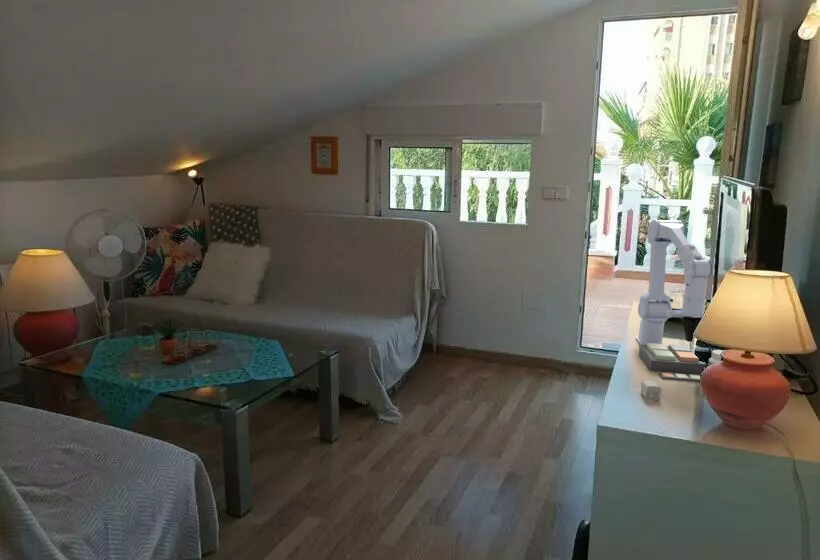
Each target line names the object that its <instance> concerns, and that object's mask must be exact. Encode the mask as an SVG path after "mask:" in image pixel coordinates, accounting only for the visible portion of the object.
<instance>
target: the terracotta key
mask: <svg viewBox="0 0 820 560" xmlns="http://www.w3.org/2000/svg"><path fill="white" fill-rule="evenodd" d="M675 357H676V358H677V359H678V360H679V361H689V362H698V361H699V358H698V357H697V356H696V355H695V354H694V353H693V352H679V351H675Z"/></svg>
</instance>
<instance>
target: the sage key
mask: <svg viewBox="0 0 820 560" xmlns="http://www.w3.org/2000/svg"><path fill="white" fill-rule="evenodd" d="M652 355H653V356H654V358H655V359H660V360H674V361H675V356H674V355H673V354H672V352H671V351H664V350H652Z"/></svg>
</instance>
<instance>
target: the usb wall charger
mask: <svg viewBox="0 0 820 560" xmlns="http://www.w3.org/2000/svg"><path fill="white" fill-rule="evenodd" d="M640 393H641V395H643V397H644V398H645V400H647V399H650V400H649V401H651V400H652V401H659V400H660V399H661V395H662V387H661V385H659V384H658V382H657V381H656V380H649V379H644V380H642V381H641V385H640Z"/></svg>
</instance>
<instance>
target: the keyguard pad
mask: <svg viewBox="0 0 820 560" xmlns="http://www.w3.org/2000/svg"><path fill="white" fill-rule="evenodd" d="M665 346H666V347H667V348H668V349H669V345H665ZM638 348H639V349H638V356H639V357H640V359H641V360H642V362H643V363H644V365H645V366H646V367H647V369H648V370H649V372H650V371H654V372H653V373H673V374H687V375H700V374H701V372H702V369H703V368H704V367H705V366H706V367H707V363H706V362H705V361H704V362H702V361H698V362H689V361H679V360H678V359H677V358H676V357H675V361H674V360H660V359H655V358H654V356H653V355H652V352H650V351H649V350H648V349H647V345H642V344H640V343H639V347H638ZM688 348H689V349H690V350H691V351H692V350H693V349H692V348H691V347H688ZM669 351H670V350H669ZM672 354H673V353H672ZM673 355H674V356H675V354H673Z"/></svg>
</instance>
